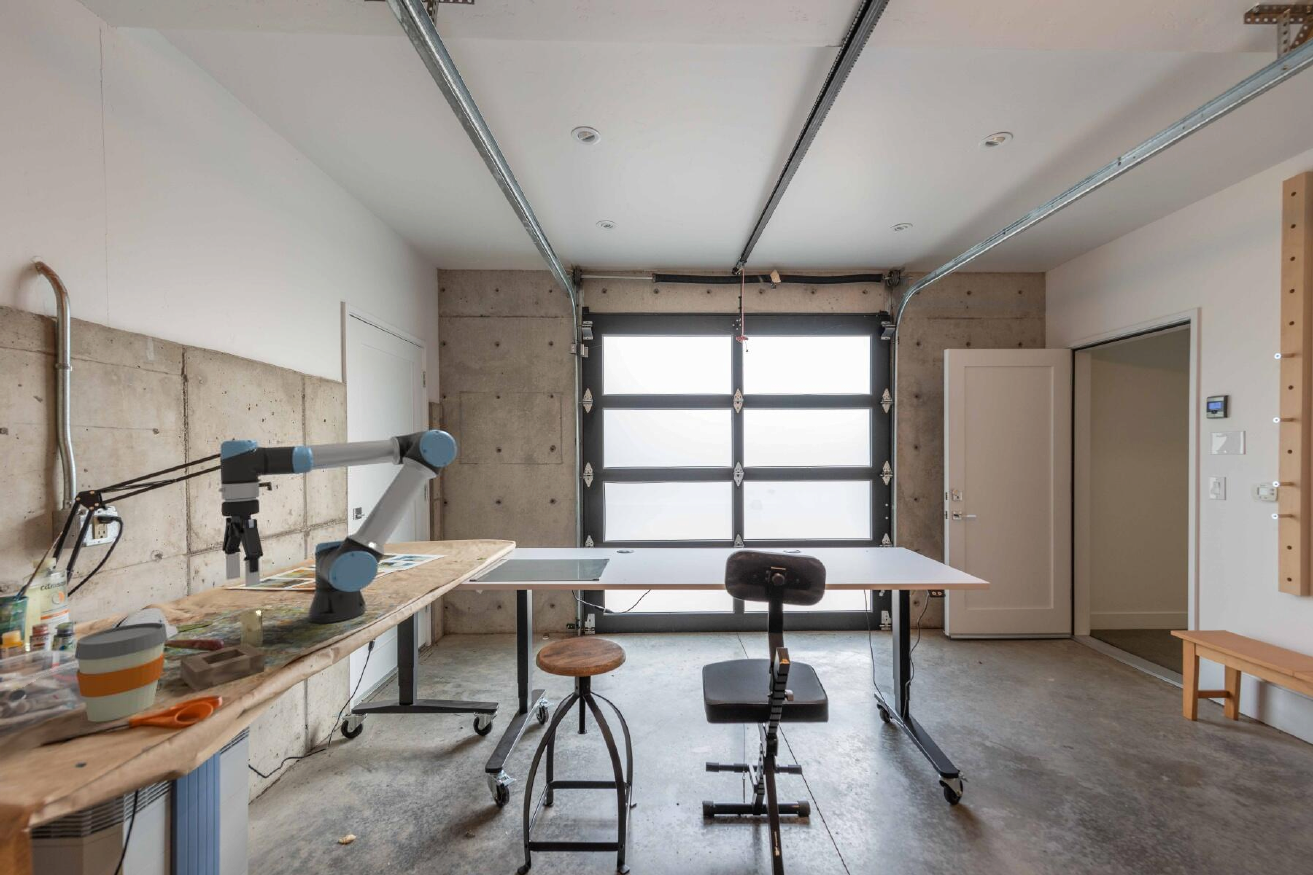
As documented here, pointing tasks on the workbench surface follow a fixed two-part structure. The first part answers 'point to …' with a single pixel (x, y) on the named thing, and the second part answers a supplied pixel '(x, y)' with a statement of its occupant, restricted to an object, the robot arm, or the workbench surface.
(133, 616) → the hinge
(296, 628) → the workbench surface
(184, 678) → the frame
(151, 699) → the reusable coffee cup
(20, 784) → the workbench surface
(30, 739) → the workbench surface
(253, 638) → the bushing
